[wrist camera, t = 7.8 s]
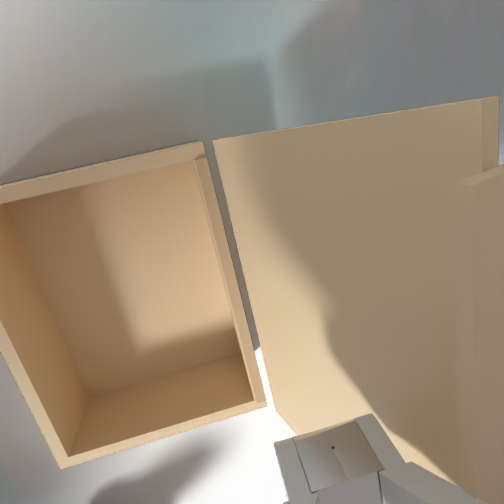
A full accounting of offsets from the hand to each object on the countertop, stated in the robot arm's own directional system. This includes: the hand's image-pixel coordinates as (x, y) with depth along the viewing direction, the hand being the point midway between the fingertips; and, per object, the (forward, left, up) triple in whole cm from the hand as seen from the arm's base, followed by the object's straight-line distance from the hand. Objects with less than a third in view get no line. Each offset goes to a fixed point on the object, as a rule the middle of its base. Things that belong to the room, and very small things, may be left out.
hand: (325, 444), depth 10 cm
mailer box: (+1, +6, -14) cm, 15 cm away
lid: (+1, 0, -3) cm, 3 cm away
